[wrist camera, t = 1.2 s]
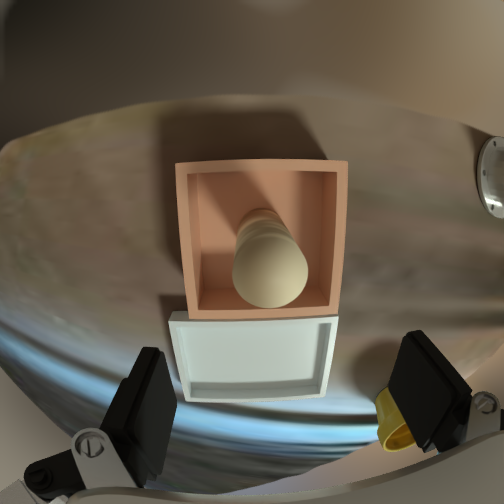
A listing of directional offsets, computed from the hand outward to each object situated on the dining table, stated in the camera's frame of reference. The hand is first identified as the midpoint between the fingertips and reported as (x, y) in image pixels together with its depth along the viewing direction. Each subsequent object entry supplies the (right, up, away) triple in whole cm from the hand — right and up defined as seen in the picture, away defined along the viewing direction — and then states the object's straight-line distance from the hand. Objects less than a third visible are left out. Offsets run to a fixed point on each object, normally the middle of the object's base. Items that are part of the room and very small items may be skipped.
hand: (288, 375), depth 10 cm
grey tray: (-1, -9, +26) cm, 28 cm away
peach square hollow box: (0, +7, +21) cm, 22 cm away
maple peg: (0, +7, +20) cm, 21 cm away
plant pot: (+23, -20, +31) cm, 44 cm away
